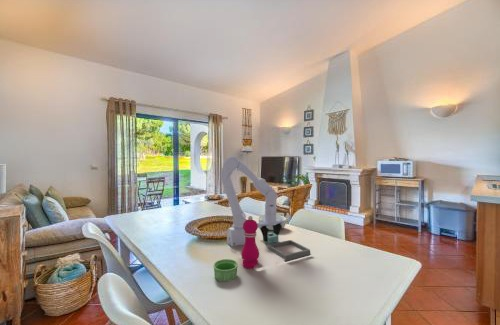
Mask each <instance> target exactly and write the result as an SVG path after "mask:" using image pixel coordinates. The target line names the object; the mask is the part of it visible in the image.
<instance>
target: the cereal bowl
mask: <svg viewBox="0 0 500 325" xmlns="http://www.w3.org/2000/svg"><path fill="white" fill-rule="evenodd" d="M276 220H283V224H280V225H282V228H281V229H284V228H285V227H286V224H287V218H286V217H285V216H283V215H279V214H276ZM263 221H265V214H263V215H259V216H258V223H260V222H263ZM266 227H267V228H268V229H269V230H268V231H274V230H273V225H272V226H266Z"/></svg>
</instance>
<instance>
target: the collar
mask: <svg viewBox="0 0 500 325" xmlns="http://www.w3.org/2000/svg"><path fill="white" fill-rule="evenodd" d="M271 233H272V234H273V235H272V236H269V235H267V242H266V241H264V239H263V238H262V240H263V241H264V242H265V243H268V244H269V245H270V244H274V243H278V241H279V234H278V235H276V234H274V232H268V234H271Z"/></svg>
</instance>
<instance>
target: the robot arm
mask: <svg viewBox="0 0 500 325" xmlns="http://www.w3.org/2000/svg"><path fill="white" fill-rule="evenodd" d="M238 159H239V158H237V157H236V156H229V157H227V158H226V160H224V162H223V164H222V167H221V171H220V179H221V183H222V185H223V188H224V192H225V194H226V195H225V196H226V198H227V200H228V204H229V207H230V210H231V214H232V219H233V221H232V226H231V227H228V228H227V230H226V242H227V243H226V244H227V245H228V246H230V248H232V247H236V246H244V245H245V236H244V232H245V231H244V229H243V223H244V222H245V221H246V220H247V219H246V218H247V217H246V214H245V212H244V211H243V210H242V208H241V205H240V201H239V199H238V195H237V193H236V189H235V186H234V184H233V180H232V177H231V176H232V174H233V172H234V171H235V170H236V171H238V172H242V173H243V174H244V175H245V176H247V178H248V179H250V181H252V183H253V187H254V188H255V189H256V190H257V191H258V192H259V193H260V194H261V195H263V196H264V198H265V204H264V215H265V221H263V222H260V223H259V222H257V225H258V228H257V229H259V230H260V232H261V234H262V240H263V239H264V241H266V242H267V235H268V233H269V231H270V230H269V229H268V228H267V227H266V226H272V225H273V230H272V231H273V234H276V235H278V236H279V233H280V232H281V228H282V225H280V224H283V220H276V215H277V200H278V197H279V196H278V193H277V191H275V189H274V188H273V186H271V185H270V184H269V183H267V180H266V179H265V178H262V177H258V176H257V175H256V174H254V172H253V171H252V170H251V169H250V168H249V167H248V166H247V165H246V164H245V163H243V161H241V160H238ZM282 229H283V228H282Z"/></svg>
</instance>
